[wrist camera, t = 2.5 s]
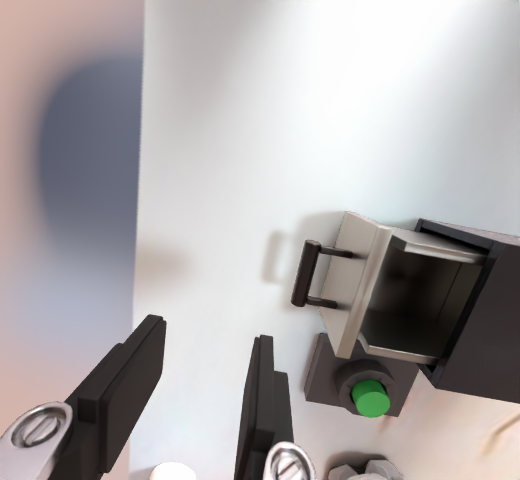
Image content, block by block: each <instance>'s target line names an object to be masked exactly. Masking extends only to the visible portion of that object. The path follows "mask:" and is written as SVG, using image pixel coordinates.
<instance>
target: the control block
mask: <svg viewBox="0 0 520 480" xmlns="http://www.w3.org/2000/svg"><path fill="white" fill-rule="evenodd" d="M419 369H420V368H419V367H418V366H417V364H416V363H415V362H411V361H406V360H400V359H395V358H389V357H384V356H378V355H372V354H367V353H366V352H365V350H364V348H363V346H362V344H361V342H360V341H359V340H358V339H356V341H355V344H354V347H353V350H352V353H351V356H350V359H346V358H340V357H336V356H335V353H334V350H333V347H332V345H331V342H330V339H329V337H328V334H325V333H320V337H319V340H318V344H317V347H316V350H315V354H314V357H313V361H312V364H311V367H310V371H309V374H308V378H307V381H306V385H305V388H304V392H305V398H306V401H310V402H316V403H321V404H327V405H332V406H338V407H344V408H346V409H347V410H348V411H350V412H351V413H352V414H355V415H361V416H363V415H362V414H360V413H359V412H358V410H357V408H356V405H355V402H354V400H353V397H352V393H351V392H352V388H353V386H354V385H356V384H357V383H358V382H359V381H363V380H367V379H372V380H376V381H377V382H379V383H380V384H381V385H382V387H383V389H384V391H385V393H386V394H387V396H388V398H389V401H390V407H389V409H388V410H387V412H386V413H384V414H383V415H389V416H394V417H398V416H399V414H400V412H401V409H402V407H403V405H404V403H405V400H406V398H407V396H408V394H409V391H410V389H411V387H412V385H413V382H414V380H415V378H416V376H417V373H418V371H419Z"/></svg>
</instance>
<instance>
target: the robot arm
mask: <svg viewBox="0 0 520 480" xmlns="http://www.w3.org/2000/svg"><path fill="white" fill-rule="evenodd" d="M165 335H166V321H164V320H163V317H162V316H156V315H151V314H149V315H148V316H147V317H146V318H145V319H144V320H143V321H142V322H141V324H140V325H139V326H138V327H137V328H136V329H135V331H134V332H133V333H132V334H131V335H130V336H129V338H128V339H127V340H126V341H125V342H124V343H123V344H122V343H118V344H116V345H115V346H114V347H113V348H112V349H111V351H109V353H108V354H107V355H106V356H105V357H104V358H103V359H102V360H101V361H100V363H99V364H98V365H97V366H96V367H95V368H94V369H93V371H92V372H91V373H90V374H89V375H88V376H87V377H86V378H85V379H84V380H83V381H82V383H81V384H80V385H79V386H78V387H77V388H76V389H75V390H74V392H73V393H72V394H71V395H70V396H69V397H68V398H67V399H66V400H65V401H64V402H49V403H45V404H42V405H39V406H37V407H35V408H33V409H31V410H29V411H27V412H26V413H24V414H23V415H21V416H20V417H19V418H17V419H16V421H14V423H12V425H10V427H9V428H8V429H7V430H6V431H5V433H4V434H3V435H2V436H1V437H0V480H100V479H101V477H102V476H103V474H104V473H109V472H110V471H111V469H112V467H113V466H114V464H115V462H116V460H117V458H118V456H119V454H120V453H121V451H122V449H123V447H124V445H125V443H126V441H127V440H128V438H129V436H130V434H131V432H132V430H133V428H134V426H135V425H136V423H137V421H138V419H139V417H140V415H141V413H142V411H143V410H144V408H145V406H146V404H147V402H148V400H149V398H150V396H151V395H152V393H153V391H154V389H155V387H156V385H157V383H158V381H159V379H160V377H161V374H162V369H163V357H164V346H165ZM234 480H316V474H315V468H314V466H313V463H312V461H311V459H310V458H309V456H308V455H307V453H306V452H305V451H304V450H303V449H302V448H301V447H300V446H298V445H296V444H294V439H293V428H292V417H291V406H290V395H289V385H288V376H287V373H284V372H278V371H274V356H273V337H272V336H267V335H260V338H258V337H255V340H254V345H253V349H252V354H251V359H250V364H249V369H248V374H247V378H246V383H245V388H244V395H243V404H242V413H241V421H240V430H239V439H238V447H237V456H236V464H235V473H234Z"/></svg>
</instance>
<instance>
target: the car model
mask: <svg viewBox="0 0 520 480" xmlns="http://www.w3.org/2000/svg"><path fill="white" fill-rule="evenodd" d="M328 480H405V479H404V478H403V476H402V474H401V473H400V472H399V471H398V470H397V469H396V468H395V466H394V465H393V464H392V463H391V462H389V461H388V460H385V459H369V461H368V463H367V465H366V466H365V467H364V468H361V469H355V468H352V467H351V466H349V465H348V464H343V465H340V466H338V467H335V468H333V469H332V470H331V471H330V473H329V476H328Z"/></svg>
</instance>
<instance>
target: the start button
mask: <svg viewBox="0 0 520 480" xmlns="http://www.w3.org/2000/svg"><path fill="white" fill-rule="evenodd" d="M351 393H352V397H353V400H354V402H355V405H356V408H357V410H358V412H359V413H360V414H362V415H363V416H366V417H378V416H381V415H383V414H384V413H386V412H387V410H388V409H389V407H390V401H389V398H388V396H387V394H386V393H385V391H384V389H383V387H382V385H381V384H380V383H379V382H377V381H376V380H372V379H367V380H363V381H359V382H358V383H357V384H356V385H354V386H353V388H352V392H351Z"/></svg>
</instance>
